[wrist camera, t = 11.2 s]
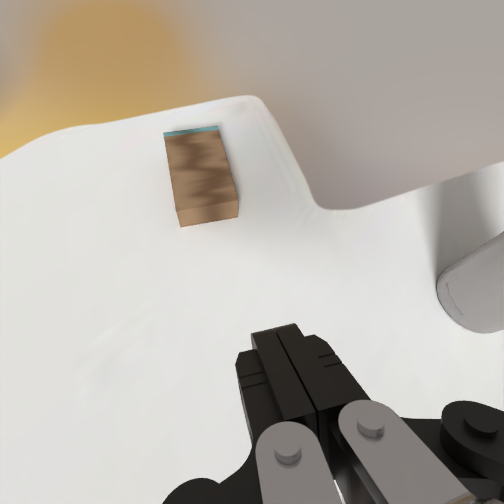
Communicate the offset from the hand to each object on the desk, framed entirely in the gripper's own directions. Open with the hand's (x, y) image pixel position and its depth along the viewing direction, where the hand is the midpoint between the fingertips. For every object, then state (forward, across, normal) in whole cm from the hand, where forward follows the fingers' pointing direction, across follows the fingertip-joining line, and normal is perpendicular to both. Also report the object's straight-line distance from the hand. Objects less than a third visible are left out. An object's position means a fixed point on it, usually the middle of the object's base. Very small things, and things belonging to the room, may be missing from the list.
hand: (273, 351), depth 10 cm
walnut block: (+33, 0, +1) cm, 33 cm away
